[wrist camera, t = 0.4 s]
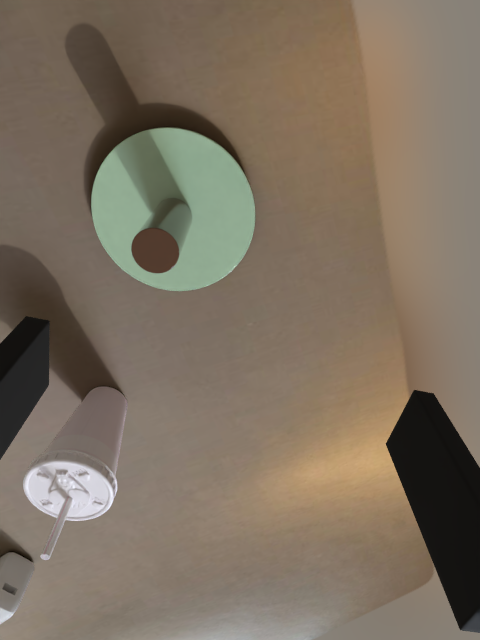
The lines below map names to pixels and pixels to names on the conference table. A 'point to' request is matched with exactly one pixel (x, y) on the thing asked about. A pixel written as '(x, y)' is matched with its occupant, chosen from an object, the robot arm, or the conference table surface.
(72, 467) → the smoothie
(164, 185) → the lid
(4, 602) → the power adapter
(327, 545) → the conference table surface
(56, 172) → the conference table surface
